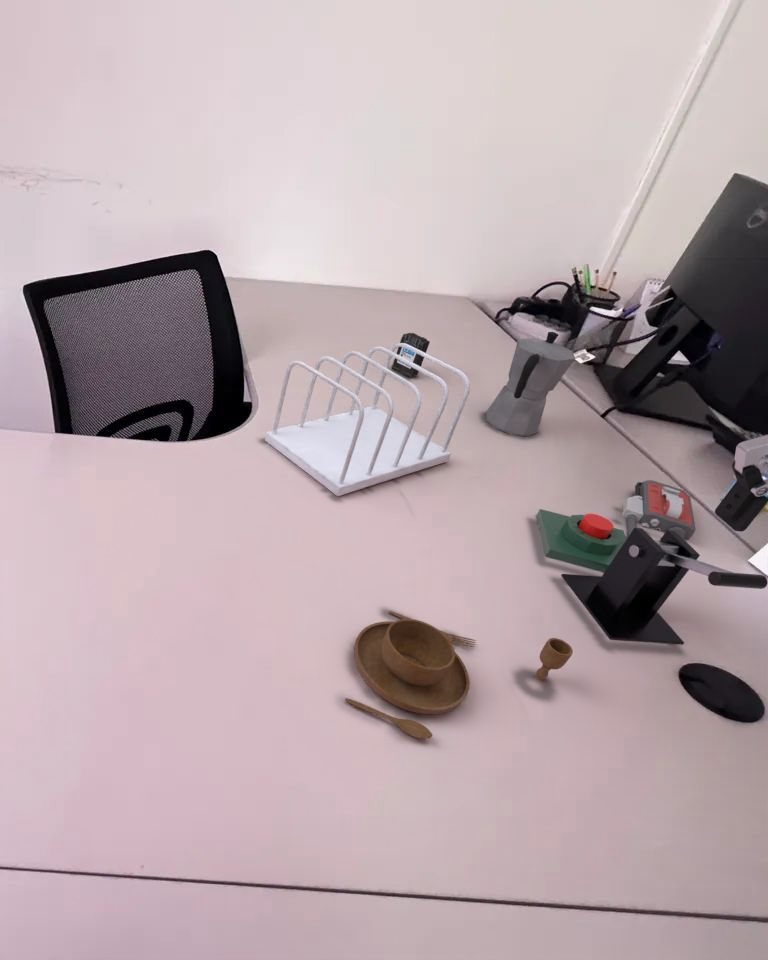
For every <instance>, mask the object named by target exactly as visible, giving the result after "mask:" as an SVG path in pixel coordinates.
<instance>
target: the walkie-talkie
mask: <svg viewBox="0 0 768 960" xmlns="http://www.w3.org/2000/svg"><path fill="white" fill-rule="evenodd" d="M621 517H622V518H624V519H625V522H626V524H627V529H626V530H627V537H628V536H629V535H630V533H631V532H632V530H633V529H634V528H637V523H638V524H640V526H641V528H642V527H644V528H647V529H648V528H650V529H653V530H659V532H661V533H663V534H665V532H666V531H667V530H671V531H675V532H676V533H677V534H678V535H680V536H681V537H682V538H683V539H684V540H685V541H688V540H690V538H692V537H693V535H694V534H695V532H696V531H697V527H696V522H695V516H694V511H693V504H692V498H691V496H690V495H689V494H688V493H687V492H686V491H685V490H684V489H682V488H678V487H676V486H672V485H669V484H666V483H662V482H659V481H656V480H652V479H650V480H649V479H648V480H645V481H638V482H637V483H636V484H635V486H634V495H633V496H629V497H627V498H626V499H625V501H624V502H623V504H622V513H621Z"/></svg>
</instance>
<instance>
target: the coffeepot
mask: <svg viewBox="0 0 768 960" xmlns="http://www.w3.org/2000/svg"><path fill="white" fill-rule="evenodd" d="M557 338H559V333H557V332H555V331H548V332H547V336H546V339H540V338H536V337H535V338H534V337H527V338H521V339H520V338H519V339H517V342H516V345H515V349H514V353H513V357H512V361H511V364H510V368H509V371H508V381H507V383H506V385H503V387H502V388H501V390H500V391H499V392H498V394H497V395H496V397H495V398H494V400H493V401H492V403H491V404H490V406H489V407H488V409H487V410H486V411H485V420H486V422H487V423H488V424H489V425H490V426H492V427H493V428H494V429H497V430H498V431H501V432H503V433H506V434H509V435H514V436H520V437H530V436H534V434H537V433H539V428H540V425H541V422H542V419H543V418H542V417H543V414H544V410H545V406H546V404H547V396H548V394H549V392H551V391H554V390H555V388H556V386H557V385H558V384H559V382H560V381H561V379H562V378H563V377H564V375H565V374H566V373H567V371H568V370H569V368H570V367H571V366H572V364H573V363H574V361H576V357H575V354H574V351H573V350H571V349H570V348H567V347H565V346H563V345H562V343H561V342H556V340H557Z"/></svg>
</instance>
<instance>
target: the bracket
mask: <svg viewBox="0 0 768 960" xmlns="http://www.w3.org/2000/svg"><path fill="white" fill-rule="evenodd" d="M626 538H627V539H626V541H625V542H624V544H623V545H622V547H621V548H620V550H619V551H618V553H617V554H616V556H615V557H614V559H613V560H612V562H611V563H610V565H609V566H608V568H607V569H606V571H605V572H603V574H602V576H599V575H586V574H571V573H561V575H560V576H561V577H562V579H563V580H564V581H565V583H566V584H567V586H568V587H569V588H570V589H571V591H572V592H573V593H574V595H575V596H576V597H577V598H578V600H579V601H580V602H581V604H582V605H583V607H584V608H585V610H587V612H588V613H589V614H590V615H591V617H592V618H593V619H594V621H595V622H596V623H597V625H598V626H599V627H600V629H601V630H602V631H603V632H604V634H605V636H606V637H607V638H608V639H609V640H610V641H624V642H641V643H653V644H669V645H684V644H685V642H684V640H683V639H682V638H681V637H680V636H679V635H678V634H677V632H676V631H675V630H674V629H673V628H672V627H671V626H670V624H669V623H668V622H667V621H666V620H665V619H664V617H662V615H661V614H660V612H659V610H660V609H661V607H662V606H663V605H664V604H665V602H666V601H667V599H668V598H669V596H671V594H672V593H673V592H674V590H675V589H676V588H677V587H678V585H679V584H680V582H681V581H682V579H684V577H685V576H686V575H687V573H688V572H689V570H690V569H687V568H684V567H681V566H678V565H675V566H674V567H672V566H658V564H659V562H660V561H661V559H662V558H663V557H664V555H665V554H666V552H665V551H664V550H663V549H662V548H661V547H660V546H659V545H658V544H657V543H656V542H655V541H654V538H652V536H651V535H650V534H648V532H647V531H645V530H644V528H642V527H636V528H634V529H633V530H632V532H631V533H630V535H629V536H628V535H627V537H626ZM659 541H663V542H666V543H669V544H672V545H675V546H678V547H679V550H678V554H680V555H683V556H686V557H689V558H692V559H695V560H698V559H699V557H700V556H701V554H699V553H698V552H697V550H696V549H694V548H693V547H692V546H691V545H690V544H689V543H688V542H687V540H685V539H683V538H682V537H681V536H680V535H678V534H677V533H676V532H675V531H671V530H667V531H666V532H665V533H663V535H662V536H661V537H660V539H659Z"/></svg>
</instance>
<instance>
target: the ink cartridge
mask: <svg viewBox="0 0 768 960" xmlns="http://www.w3.org/2000/svg"><path fill="white" fill-rule="evenodd" d="M399 343H406V344H408V345H410V346H412V347H414V348H416V349H418V350H420V351H422V352H424V353H426V354H427V351H428V348H429V345H430V343H431V341H430V340H428V339H427V338H426V337H423V336H420V335H418V334H417V333H415V332H407V333H403V335H402V336H401V338H400V341H399ZM395 353H396V354H398V355H400V356H402V357H403V358H405V359H407V360H409V361H411V362H413V363H414V364H416V365H418V366H420V367H422V364H423V362H424V359H425V357H423V356H421V355H419V354H417V353H415V352H413V351H411V350H409V349H407V348H404V347H398V348H397V350H396V352H395ZM391 369H392V370H393V371H395V372H397V374H398V373H399V374H401V376H402V375H403V376H404V377H406V378H409V379H410V378H413V377H416V376H419V373H420V371H418V370H416V369H414V368H412V367H411V366H409V365H407V364H405V363H403V362H401V361H400V360H398V359H396V358H394V360H393V362H392V365H391Z"/></svg>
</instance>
